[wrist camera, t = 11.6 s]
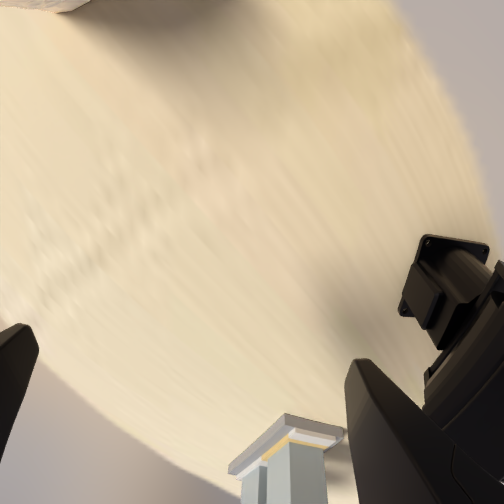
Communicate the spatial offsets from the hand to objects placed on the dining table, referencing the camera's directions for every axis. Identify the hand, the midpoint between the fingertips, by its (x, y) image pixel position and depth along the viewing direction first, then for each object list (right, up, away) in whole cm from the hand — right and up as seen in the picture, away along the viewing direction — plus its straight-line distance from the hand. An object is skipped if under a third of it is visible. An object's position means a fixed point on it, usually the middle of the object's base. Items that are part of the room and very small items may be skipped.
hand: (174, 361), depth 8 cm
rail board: (+5, -19, +24) cm, 31 cm away
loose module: (+6, -18, +21) cm, 28 cm away
